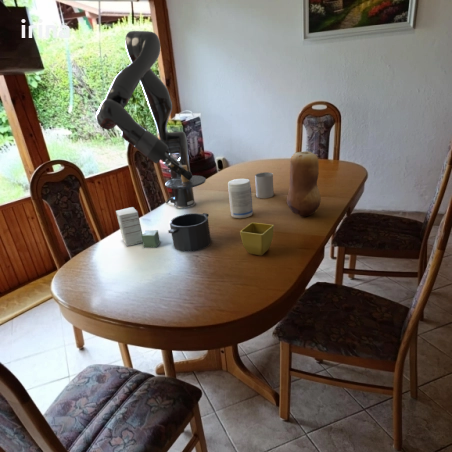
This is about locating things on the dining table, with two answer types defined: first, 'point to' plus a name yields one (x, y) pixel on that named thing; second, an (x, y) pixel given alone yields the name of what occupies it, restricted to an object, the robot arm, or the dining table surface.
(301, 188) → the butternut squash
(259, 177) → the cup
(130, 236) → the white packaging box
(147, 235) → the block
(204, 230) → the pot
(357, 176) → the dining table surface
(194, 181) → the lid
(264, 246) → the flower pot
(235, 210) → the supplement tub
